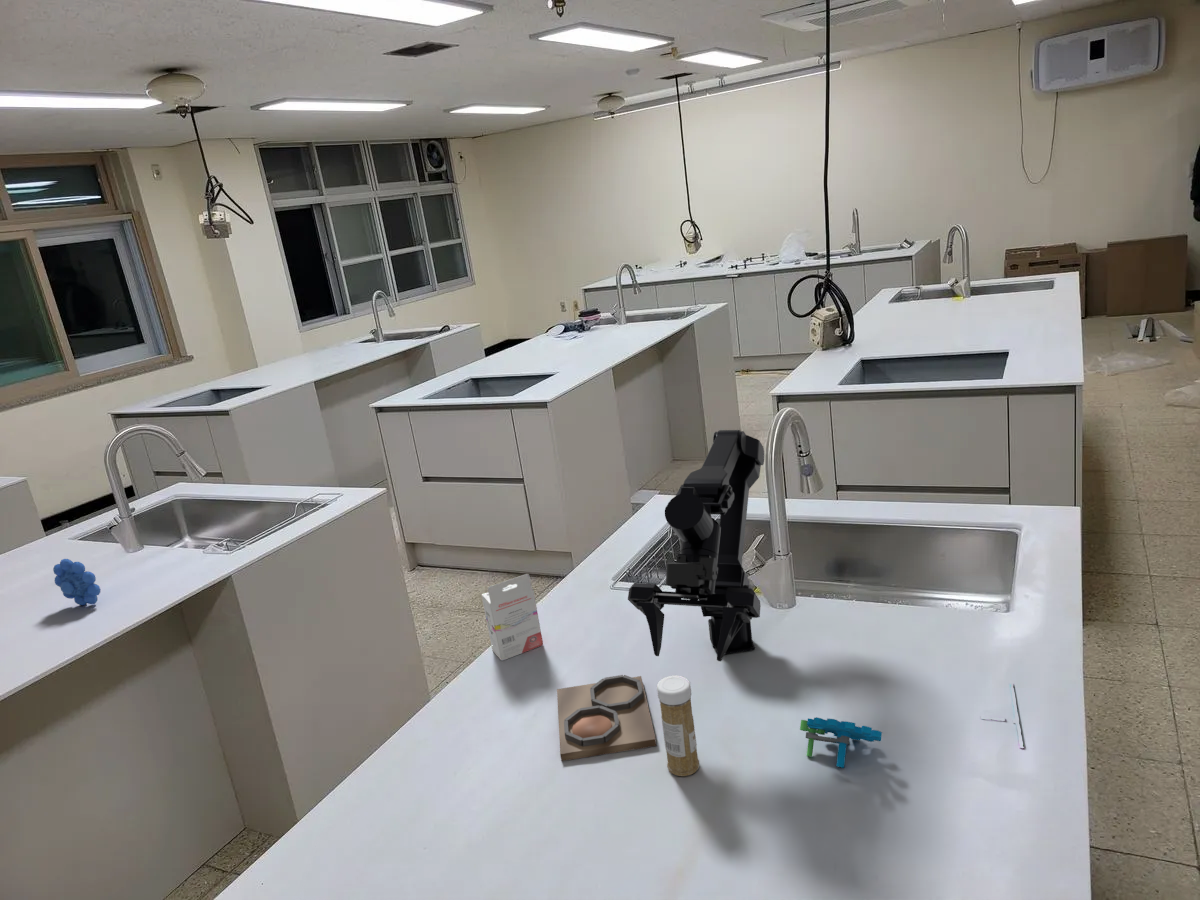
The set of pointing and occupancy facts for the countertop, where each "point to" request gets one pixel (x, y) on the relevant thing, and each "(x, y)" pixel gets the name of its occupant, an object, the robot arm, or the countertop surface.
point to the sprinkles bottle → (678, 725)
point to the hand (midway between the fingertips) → (687, 658)
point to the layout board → (604, 718)
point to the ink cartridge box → (512, 617)
